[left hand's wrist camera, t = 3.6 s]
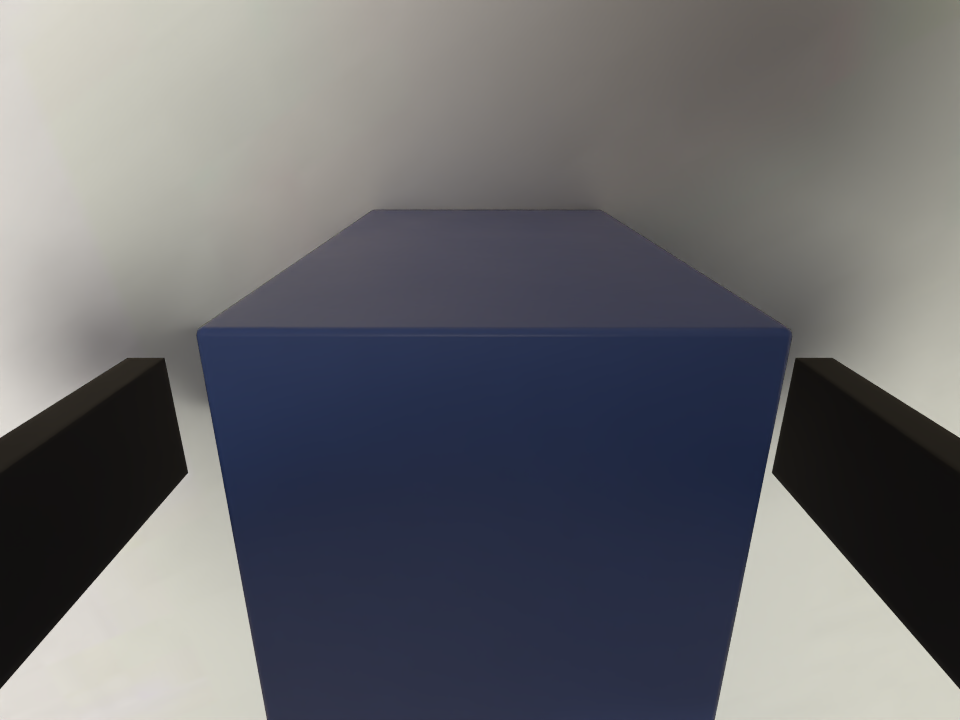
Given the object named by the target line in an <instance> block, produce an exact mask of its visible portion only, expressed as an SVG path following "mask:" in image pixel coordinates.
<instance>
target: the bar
mask: <svg viewBox="0 0 960 720" xmlns="http://www.w3.org/2000/svg"><path fill="white" fill-rule="evenodd" d="M791 340H792V332H791V330H790V329H789V328H787V327H786V326H784V325H783V324H781V323H779V322H778V321H776V320H775V319H773V318H771V317H770V316H768V315H767V314H765V313H764V312H762V311H760V310H759V309H757V308H756V307H754V306H752V305H751V304H749V303H748V302H746V301H744V300H743V299H741V298H740V297H738V296H737V295H735V294H733V293H732V292H730V291H729V290H727V289H725V288H724V287H722V286H721V285H719V284H718V283H716V282H714V281H713V280H711V279H710V278H708V277H706V276H705V275H703V274H702V273H700V272H699V271H697V270H695V269H694V268H692V267H691V266H689V265H687V264H686V263H684V262H683V261H681V260H679V259H678V258H676V257H675V256H673V255H672V254H670V253H668V252H667V251H665V250H664V249H662V248H660V247H659V246H657V245H656V244H654V243H653V242H651V241H649V240H648V239H646V238H645V237H643V236H641V235H640V234H638V233H637V232H635V231H633V230H632V229H630V228H629V227H627V226H626V225H624V224H622V223H621V222H619V221H618V220H616V219H614V218H613V217H611V216H610V215H608V214H607V213H605V212H603V211H601V210H372V211H371V212H369V213H368V214H366V215H365V216H363V217H362V218H360V219H359V220H357V221H356V222H354V223H353V224H351V225H350V226H349V227H347V228H346V229H344V230H343V231H341V232H340V233H338V234H337V235H335V236H334V237H332V238H331V239H329V240H328V241H326V242H325V243H324V244H322V245H321V246H319V247H318V248H316V249H315V250H313V251H312V252H310V253H309V254H307V255H306V256H304V257H303V258H301V259H300V260H299V261H297V262H296V263H294V264H293V265H291V266H290V267H288V268H287V269H285V270H284V271H282V272H281V273H279V274H278V275H276V276H275V277H274V278H272V279H271V280H269V281H268V282H266V283H265V284H263V285H262V286H260V287H259V288H257V289H256V290H254V291H253V292H251V293H250V294H249V295H247V296H246V297H244V298H243V299H241V300H240V301H238V302H237V303H235V304H234V305H232V306H231V307H229V308H228V309H226V310H225V311H224V312H222V313H221V314H219V315H218V316H216V317H215V318H213V319H212V320H210V321H209V322H207V323H206V324H204V325H203V326H201V327H200V328H199V329H198V331H197V341H198V346H199V352H200V357H201V363H202V368H203V374H204V379H205V385H206V390H207V395H208V401H209V406H210V412H211V417H212V423H213V428H214V433H215V439H216V444H217V450H218V455H219V461H220V466H221V472H222V477H223V482H224V488H225V493H226V499H227V504H228V510H229V515H230V520H231V526H232V531H233V537H234V542H235V548H236V553H237V559H238V564H239V569H240V575H241V580H242V586H243V591H244V597H245V602H246V607H247V613H248V618H249V624H250V629H251V635H252V640H253V646H254V651H255V656H256V662H257V667H258V673H259V678H260V684H261V689H262V694H263V700H264V705H265V711H266V716H267V720H715V715H716V710H717V705H718V700H719V695H720V690H721V686H722V681H723V676H724V671H725V666H726V661H727V656H728V651H729V646H730V641H731V636H732V631H733V626H734V621H735V616H736V612H737V607H738V602H739V597H740V592H741V587H742V582H743V577H744V572H745V567H746V562H747V557H748V552H749V547H750V542H751V537H752V533H753V528H754V523H755V518H756V513H757V508H758V503H759V498H760V493H761V488H762V483H763V478H764V473H765V468H766V463H767V458H768V454H769V449H770V444H771V439H772V434H773V429H774V424H775V419H776V414H777V409H778V404H779V399H780V394H781V389H782V384H783V380H784V375H785V370H786V365H787V360H788V355H789V350H790V345H791Z"/></svg>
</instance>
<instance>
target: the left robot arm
mask: <svg viewBox="0 0 960 720" xmlns="http://www.w3.org/2000/svg"><path fill="white" fill-rule="evenodd" d="M187 473H188V470H187V465H186V460H185V455H184V451H183V446H182V441H181V436H180V431H179V426H178V422H177V417H176V412H175V407H174V402H173V397H172V393H171V388H170V383H169V378H168V373H167V368H166V363H165V359H164V358H127V359H125V360H124V361H122V362H120V363H119V364H117V365H116V366H114V367H112V368H111V369H109V370H108V371H106V372H104V373H103V374H101V375H100V376H98V377H96V378H95V379H93V380H92V381H90V382H89V383H87V384H85V385H84V386H82V387H81V388H79V389H77V390H76V391H74V392H73V393H71V394H69V395H68V396H66V397H65V398H63V399H61V400H60V401H58V402H57V403H55V404H53V405H52V406H50V407H49V408H47V409H46V410H44V411H42V412H41V413H39V414H38V415H36V416H34V417H33V418H31V419H30V420H28V421H26V422H25V423H23V424H22V425H20V426H18V427H17V428H15V429H14V430H12V431H10V432H9V433H7V434H6V435H4V436H3V437H1V438H0V689H1V687H2V686H3V685H4V684H5V683H6V682H7V681H8V679H9V678H10V677H11V676H12V675H13V674H14V673H15V671H16V670H17V669H18V668H19V667H20V666H21V664H22V663H23V662H24V661H25V660H26V659H27V658H28V656H29V655H30V654H31V653H32V652H33V651H34V649H35V648H36V647H37V646H38V645H39V644H40V643H41V641H42V640H43V639H44V638H45V637H46V636H47V635H48V633H49V632H50V631H51V630H52V629H53V628H54V626H55V625H56V624H57V623H58V622H59V621H60V620H61V618H62V617H63V616H64V615H65V614H66V613H67V611H68V610H69V609H70V608H71V607H72V606H73V605H74V603H75V602H76V601H77V600H78V599H79V598H80V597H81V595H82V594H83V593H84V592H85V591H86V590H87V588H88V587H89V586H90V585H91V584H92V583H93V582H94V580H95V579H96V578H97V577H98V576H99V575H100V574H101V572H102V571H103V570H104V569H105V568H106V567H107V565H108V564H109V563H110V562H111V561H112V560H113V559H114V557H115V556H116V555H117V554H118V553H119V552H120V550H121V549H122V548H123V547H124V546H125V545H126V544H127V542H128V541H129V540H130V539H131V538H132V537H133V536H134V534H135V533H136V532H137V531H138V530H139V529H140V527H141V526H142V525H143V524H144V523H145V522H146V521H147V519H148V518H149V517H150V516H151V515H152V514H153V512H154V511H155V510H156V509H157V508H158V507H159V506H160V504H161V503H162V502H163V501H164V500H165V499H166V498H167V496H168V495H169V494H170V493H171V492H172V491H173V489H174V488H175V487H176V486H177V485H178V484H179V483H180V481H181V480H182V479H183V478H184V477H185V476H186V474H187ZM772 473H773V474H774V476H775V477H776V478H777V479H778V480H779V481H780V483H781V484H782V485H783V486H784V487H785V488H786V489H787V491H788V492H789V493H790V494H791V495H792V496H793V498H794V499H795V500H796V501H797V502H798V503H799V504H800V506H801V507H802V508H803V509H804V510H805V511H806V512H807V514H808V515H809V516H810V517H811V518H812V519H813V521H814V522H815V523H816V524H817V525H818V526H819V527H820V529H821V530H822V531H823V532H824V533H825V534H826V536H827V537H828V538H829V539H830V540H831V541H832V542H833V544H834V545H835V546H836V547H837V548H838V549H839V550H840V552H841V553H842V554H843V555H844V556H845V557H846V559H847V560H848V561H849V562H850V563H851V564H852V565H853V567H854V568H855V569H856V570H857V571H858V572H859V574H860V575H861V576H862V577H863V578H864V579H865V580H866V582H867V583H868V584H869V585H870V586H871V587H872V588H873V590H874V591H875V592H876V593H877V594H878V595H879V597H880V598H881V599H882V600H883V601H884V602H885V603H886V605H887V606H888V607H889V608H890V609H891V610H892V612H893V613H894V614H895V615H896V616H897V617H898V618H899V620H900V621H901V622H902V623H903V624H904V625H905V626H906V628H907V629H908V630H909V631H910V632H911V633H912V635H913V636H914V637H915V638H916V639H917V640H918V641H919V643H920V644H921V645H922V646H923V647H924V648H925V649H926V651H927V652H928V653H929V654H930V655H931V656H932V658H933V659H934V660H935V661H936V662H937V663H938V664H939V666H940V667H941V668H942V669H943V670H944V671H945V673H946V674H947V675H948V676H949V677H950V678H951V679H952V681H953V682H954V683H955V684H956V685H957V686H958V687H959V689H960V438H959V437H957V436H956V435H954V434H953V433H951V432H950V431H948V430H946V429H945V428H943V427H942V426H940V425H938V424H937V423H935V422H934V421H932V420H930V419H929V418H927V417H926V416H924V415H922V414H921V413H919V412H918V411H916V410H914V409H913V408H911V407H910V406H908V405H907V404H905V403H903V402H902V401H900V400H899V399H897V398H895V397H894V396H892V395H891V394H889V393H887V392H886V391H884V390H883V389H881V388H879V387H878V386H876V385H875V384H873V383H871V382H870V381H868V380H867V379H865V378H864V377H862V376H860V375H859V374H857V373H856V372H854V371H852V370H851V369H849V368H848V367H846V366H844V365H843V364H841V363H840V362H838V361H836V360H835V359H833V358H796V359H795V363H794V368H793V373H792V378H791V383H790V388H789V393H788V397H787V402H786V407H785V412H784V417H783V422H782V426H781V431H780V436H779V441H778V446H777V451H776V455H775V460H774V465H773V470H772Z"/></svg>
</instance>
